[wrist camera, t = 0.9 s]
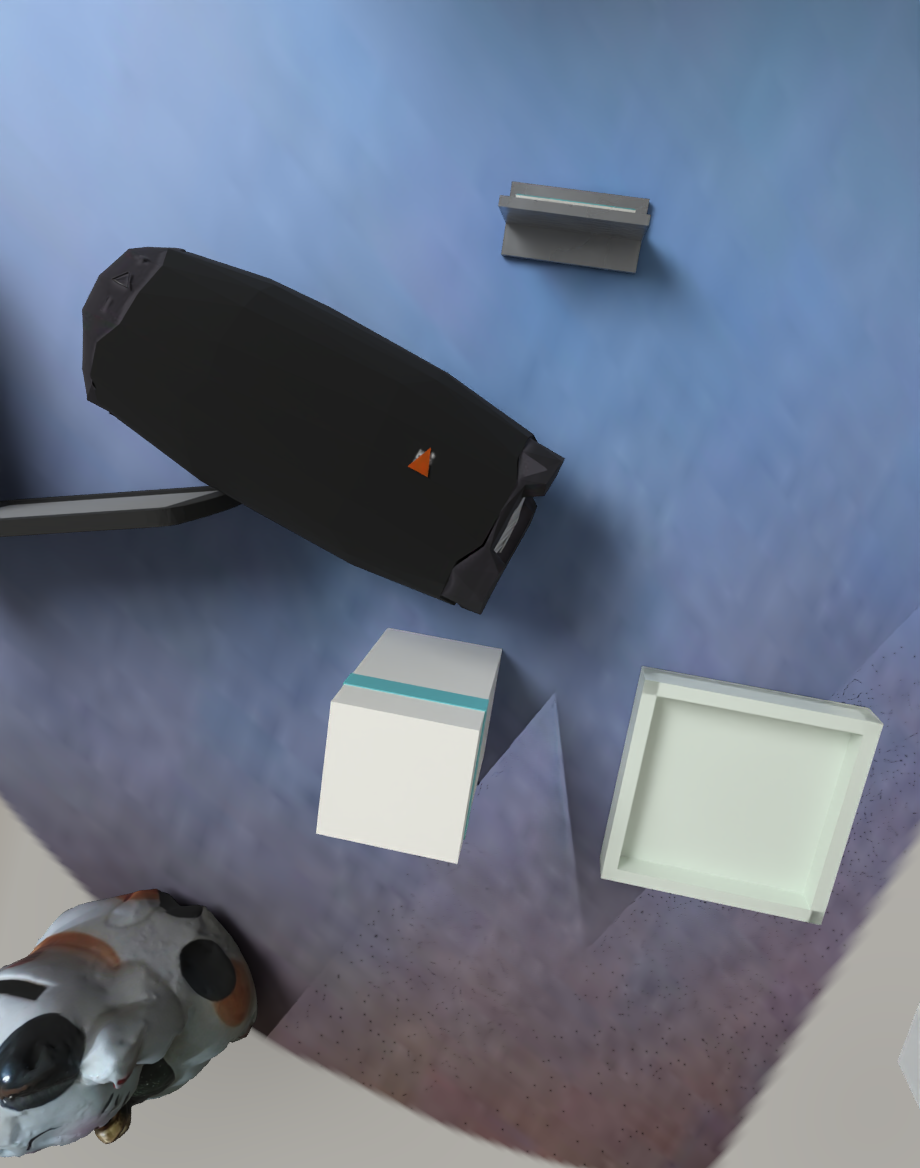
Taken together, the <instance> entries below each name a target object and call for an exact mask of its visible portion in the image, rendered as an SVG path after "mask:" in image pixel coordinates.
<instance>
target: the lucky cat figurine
mask: <svg viewBox="0 0 920 1168" xmlns="http://www.w3.org/2000/svg"><path fill="white" fill-rule="evenodd" d="M256 1017H257V996H256V991H255V986H254V982H253V979H252V976H251V973H250V970H249V968H248V965H247V963H246V961H245V960H244V957H243V955H242V954H241V952H240V950H239V947H238V946H237V944H236V943H235V942H234V940H233V938H232V937H231V936H230V934H229V933H228V932H227V931H226V930H225V928H224V927H223V926H222V925H221V924H220V923H219V922H218V920H217V919H216V918H215V917H214V915H213V914H212V913H211V912H210V911H209V910H208V909H207V908H206V907H205V906H200V905H191V906H180V905H179V904H178V903H177V902H176V901H175V900H174V899H173V898H172V897H171V896H170V895H169V894H167V893H164V892H161V891H159V890H158V889H150V890H141V891H137V892H134V893H130V894H125V895H121V896H117V897H112V898H108V899H103V900H98V901H92V902H88V903H84V904H81V905H78V906H76V907H74V908H71V909H69V910H67V911H65V912H64V913H62V914H61V915H60V916H59V917H58V918H57V919H56V920H55V922H54V923H53V924H52V925H51V926H50V927H49V928H48V930H47V931H46V933H45V934H44V935H43V937H42V938H40V939H39V940H38V942H37V944H36V946H35V948H34V950H33V951H32V952H31V953H30V955H28V956H27V957H25V958H23V959H21V960H19V961H17V962H14V963H12V964H10V965H6V966H4V967H2V968H1V969H0V1156H1V1157H11V1156H17V1157H20V1156H22V1155H24V1154H29V1153H35V1152H37V1151H39V1150H41V1149H44V1148H47V1147H49V1146H57V1145H60V1146H63V1145H66V1144H70V1143H72V1142H75V1141H77V1140H78V1139H80V1138H83V1137H85V1136H87V1135H88V1134H90V1133H91V1131H93V1130H94V1131H95V1134H96V1136H97V1137H98V1138H99V1139H100V1140H101V1141H102V1142H103V1143H105V1144H109V1143H112V1142H114V1141H116V1140H117V1139H118V1138H120V1137H121V1136H122V1135H123V1134H125V1132H126V1131H127V1130H128V1129H129V1126H130V1123H131V1107H132V1106H133V1105H135V1104H138V1103H142V1102H143V1101H145V1100H148V1099H155V1098H160V1097H162V1096H164V1095H167V1094H170V1093H172V1092H174V1091H176V1090H178V1089H179V1088H181V1087H182V1086H183V1085H184V1084H186V1083H187V1082H188V1081H189V1080H190V1079H192V1078H194V1077H195V1076H196V1075H197V1074H198V1073H199V1072H200V1071H201V1070H202V1069H203V1067H204V1066H206V1065H207V1064H208V1062H209V1061H210V1060H211V1058H213V1057H215V1056H216V1055H218V1054H219V1053H220V1052H222V1051H223V1050H224V1049H225V1048H226V1047H227V1045H228V1043H229V1042H235V1041H238V1040H240V1039H242V1038H245V1037H247V1035H248V1033H249V1032H250V1029H251V1027H252V1025H253V1023H254V1022H255V1020H256Z"/></svg>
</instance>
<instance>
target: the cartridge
mask: <svg viewBox="0 0 920 1168" xmlns="http://www.w3.org/2000/svg"><path fill="white" fill-rule="evenodd" d="M501 653H502V649H499V648H493V647H488V646H483V645H477V644H472V643H467V642H461V641H456V640H451V639H445V638H440V637H435V636H429V635H424V634H419V633H413V632H408V631H403V630H397V629H392V628H387V629H386V631H385V632H384V633H383V635H382V636H381V637H380V639H379V640H378V641H377V642H376V644H375V645H374V646H373V648H372V649H371V650H370V652H369V653H368V654H367V655H366V657H365V658H364V659H363V661H362V662H361V663H360V665H359V666H358V667H357V668H356V670H355V671H354V672H353V673H351V674H350V675H349V676H348V678H347V679H346V680H345V681H344V683H343V687H342V688H341V689H340V691H339V692H338V693H337V694H336V696H335V697H334V698H333V700H332V701H331V707H330V716H329V724H328V733H327V742H326V751H325V760H324V768H323V777H322V786H321V795H320V804H319V812H318V821H317V830H316V834H321V835H325V836H330V837H335V838H339V839H344V840H349V841H353V842H358V843H363V844H367V845H372V846H377V847H381V848H386V849H391V850H395V851H400V852H405V853H409V854H414V855H419V856H423V857H428V858H433V859H437V860H442V861H447V862H451V863H456V864H457V863H458V858H459V854H460V850H461V846H462V842H463V840H464V839H465V835H466V831H467V827H468V822H469V816H470V810H471V806H472V802H473V798H474V794H475V790H476V786H477V782H478V778H479V774H480V770H481V765H482V761H483V757H484V753H485V747H486V741H487V735H488V729H489V723H490V717H491V712H492V706H493V700H494V694H495V688H496V682H497V677H498V671H499V665H500V659H501Z"/></svg>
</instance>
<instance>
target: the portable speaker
mask: <svg viewBox="0 0 920 1168" xmlns="http://www.w3.org/2000/svg"><path fill="white" fill-rule="evenodd" d="M82 315H83V366H82V370H83V375H84V381H85V387H86V393H87V400H88V401H90V402H92V403H94V404H96V405H98V406H99V407H101V408H103V409H105V410H107V411H109V412H110V414H112V415H113V416H115V417H117V418H118V419H119V420H120V421H122V422H123V423H124V424H126V425H127V426H128V427H130V428H131V429H132V430H134V431H135V432H136V433H138V434H139V435H140V436H142V437H143V438H144V439H146V440H147V441H148V442H150V443H151V444H152V445H154V446H155V447H156V448H158V449H159V450H160V451H162V452H163V453H164V454H166V455H167V456H168V457H170V458H171V459H172V460H174V461H175V462H176V463H178V464H179V465H180V466H182V467H183V468H184V469H186V470H187V471H188V472H190V473H191V474H192V475H194V476H195V477H196V478H198V479H199V480H200V481H202V482H204V483H206V484H207V485H209V486H211V487H213V488H215V489H216V490H218V491H220V492H222V493H224V494H225V495H227V496H229V497H231V498H233V499H234V500H236V501H238V502H240V503H242V504H244V505H245V506H247V507H249V508H251V509H253V510H254V511H256V512H258V513H260V514H262V515H263V516H265V517H267V518H269V519H271V520H272V521H274V522H276V523H278V524H280V525H281V526H283V527H285V528H287V529H289V530H290V531H292V532H294V533H296V534H298V535H299V536H301V537H303V538H305V539H307V540H308V541H310V542H312V543H314V544H316V545H318V546H319V547H321V548H323V549H325V550H327V551H328V552H330V553H332V554H334V555H336V556H337V557H339V558H341V559H343V560H345V561H346V562H348V563H350V564H352V565H354V566H357V567H359V568H362V569H364V570H367V571H369V572H372V573H374V574H377V575H379V576H382V577H384V578H387V579H389V580H392V581H395V582H397V583H400V584H402V585H405V586H407V587H410V588H412V589H415V590H417V591H420V592H422V593H425V594H427V595H430V596H432V597H435V598H437V599H440V600H442V601H445V602H447V603H450V604H452V605H455V604H456V603H458V604H459V605H460V606H461V607H462V608H464V609H467V610H470V611H472V612H475V613H477V614H480V615H481V613H482V611H483V609H484V608H485V606H486V604H487V602H488V600H489V598H490V596H491V594H492V592H493V590H494V588H495V586H496V584H497V582H498V580H499V578H500V577H501V575H502V573H503V571H504V570H505V568H506V566H507V564H508V562H509V561H510V559H511V557H512V555H513V554H514V552H515V550H516V548H517V547H518V545H519V543H520V541H521V539H522V538H523V536H524V534H525V532H526V531H527V529H528V527H529V525H530V523H531V521H532V519H533V516H534V513H535V510H536V507H537V505H536V503H535V501H534V499H533V497H536V496H544V495H545V494H546V492H547V490H548V489H549V487H550V486H551V484H552V482H553V481H554V479H555V478H556V476H557V474H558V472H559V470H560V468H561V465H562V463H563V461H564V459H565V458H563V457H561V456H560V455H558V454H556V453H554V452H553V451H551V450H549V449H548V448H546V447H544V446H543V445H541V444H539V443H538V442H537V440H536V438H535V437H534V435H533V434H532V433H531V432H529V431H528V430H527V429H525V428H524V427H522V426H521V425H520V424H518V423H517V422H515V421H514V420H513V419H511V418H510V417H508V416H507V415H506V414H504V413H503V412H501V411H500V410H499V409H497V408H496V407H494V406H493V405H492V404H490V403H489V402H487V401H486V400H485V399H483V398H482V397H481V396H479V395H478V394H476V393H475V392H474V391H472V390H471V389H469V388H468V387H467V386H465V385H464V384H462V383H461V382H460V381H458V380H457V379H455V378H454V377H453V376H451V375H450V374H448V373H447V372H445V371H443V370H441V369H440V368H438V367H436V366H434V365H432V364H431V363H429V362H427V361H425V360H424V359H422V358H420V357H418V356H416V355H415V354H413V353H411V352H409V351H407V350H406V349H404V348H402V347H400V346H398V345H397V344H395V343H393V342H391V341H390V340H388V339H386V338H384V337H382V336H381V335H379V334H377V333H375V332H373V331H372V330H370V329H368V328H366V327H365V326H363V325H361V324H359V323H357V322H356V321H354V320H352V319H350V318H348V317H347V316H345V315H343V314H341V313H340V312H338V311H336V310H334V309H332V308H331V307H329V306H326V305H324V304H322V303H320V302H318V301H316V300H314V299H312V298H310V297H307V296H305V295H303V294H301V293H299V292H297V291H295V290H293V289H291V288H288V287H286V286H284V285H282V284H280V283H278V282H276V281H274V280H272V279H269V278H266V277H263V276H260V275H257V274H254V273H251V272H248V271H245V270H242V269H239V268H236V267H233V266H230V265H227V264H224V263H221V262H218V261H214V260H211V259H208V258H205V257H202V256H199V255H196V254H193V253H189V252H186V251H185V250H184V249H179V248H161V247H142V248H133V249H128V250H127V251H126V252H125V253H124V254H123V255H122V256H120V257H119V258H118V259H117V260H116V261H115V262H114V263H113V264H112V265H110V266H109V267H108V268H107V269H106V270H105V271H104V272H103V273H101V274H100V275H99V277H98V279H97V281H96V283H95V285H94V287H93V289H92V291H91V293H90V295H89V297H88V299H87V301H86V303H85V305H84V307H83V309H82Z"/></svg>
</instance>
